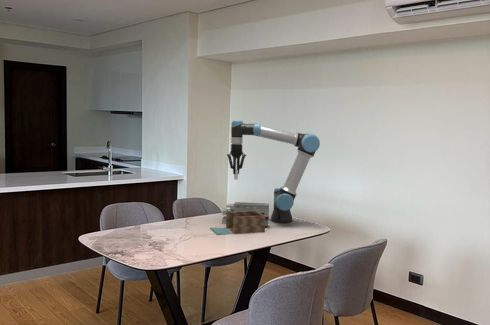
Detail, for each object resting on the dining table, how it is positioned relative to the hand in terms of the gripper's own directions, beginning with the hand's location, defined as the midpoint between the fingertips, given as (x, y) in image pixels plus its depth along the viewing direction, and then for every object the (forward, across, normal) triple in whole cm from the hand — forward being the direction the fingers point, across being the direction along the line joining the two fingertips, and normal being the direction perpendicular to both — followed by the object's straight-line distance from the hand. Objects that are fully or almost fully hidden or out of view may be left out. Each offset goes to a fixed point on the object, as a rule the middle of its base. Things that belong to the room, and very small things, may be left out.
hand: (236, 179), depth 295 cm
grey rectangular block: (+31, -5, +6) cm, 32 cm away
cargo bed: (+30, +1, +23) cm, 38 cm away
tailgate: (+29, +11, +23) cm, 39 cm away
